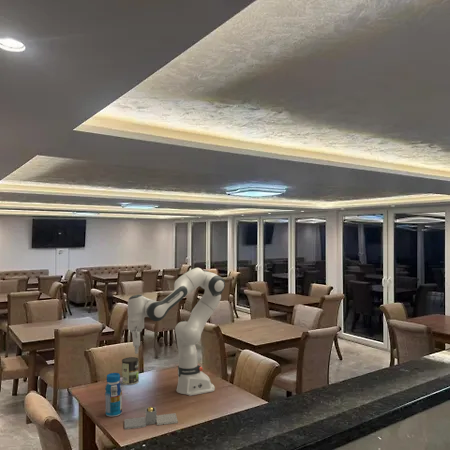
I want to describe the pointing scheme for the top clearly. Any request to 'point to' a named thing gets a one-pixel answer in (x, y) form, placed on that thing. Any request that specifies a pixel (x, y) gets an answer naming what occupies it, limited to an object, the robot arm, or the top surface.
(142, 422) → the hinge leaves
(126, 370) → the coffee can
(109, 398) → the beverage bottle
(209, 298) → the robot arm
